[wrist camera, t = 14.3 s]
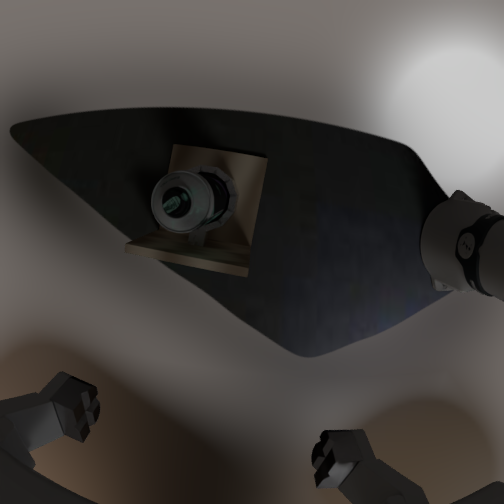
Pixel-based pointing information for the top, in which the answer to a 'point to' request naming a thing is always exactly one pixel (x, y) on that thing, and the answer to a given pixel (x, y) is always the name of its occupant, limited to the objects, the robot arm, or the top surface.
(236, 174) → the brown l-shaped piece
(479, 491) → the robot arm
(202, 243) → the ring
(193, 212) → the spray can
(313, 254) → the top surface
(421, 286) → the top surface
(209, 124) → the top surface
